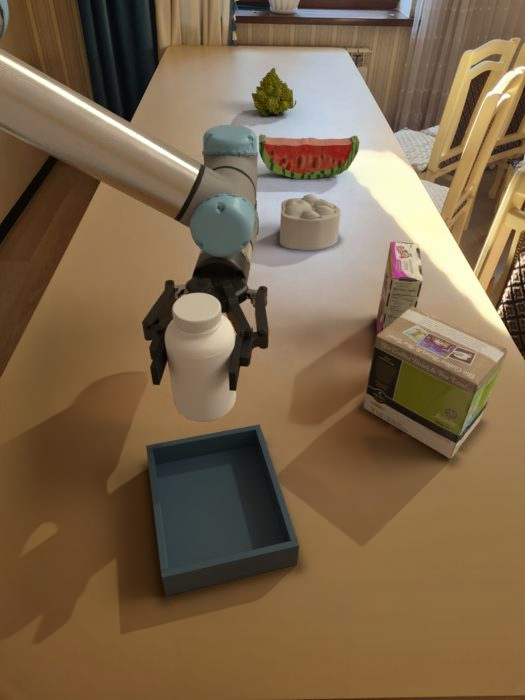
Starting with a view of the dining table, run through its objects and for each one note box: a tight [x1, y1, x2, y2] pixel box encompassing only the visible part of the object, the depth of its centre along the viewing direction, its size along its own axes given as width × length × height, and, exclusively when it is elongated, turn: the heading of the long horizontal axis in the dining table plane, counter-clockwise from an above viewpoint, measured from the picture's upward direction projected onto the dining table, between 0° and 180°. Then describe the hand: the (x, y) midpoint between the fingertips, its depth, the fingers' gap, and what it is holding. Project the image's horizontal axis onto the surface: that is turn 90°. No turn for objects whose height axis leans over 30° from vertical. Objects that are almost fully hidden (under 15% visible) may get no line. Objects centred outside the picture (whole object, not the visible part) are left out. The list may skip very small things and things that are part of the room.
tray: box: [145, 423, 300, 597], centre depth 68 cm, size 19×16×4 cm
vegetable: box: [251, 67, 297, 117], centre depth 184 cm, size 15×16×15 cm
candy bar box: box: [376, 241, 424, 336], centre depth 91 cm, size 11×5×16 cm, turn 171°
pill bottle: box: [165, 293, 237, 423], centre depth 64 cm, size 8×8×15 cm
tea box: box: [363, 306, 509, 460], centre depth 78 cm, size 15×10×15 cm, turn 48°
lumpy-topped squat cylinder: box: [279, 193, 342, 251], centre depth 119 cm, size 10×13×9 cm
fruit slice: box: [258, 133, 360, 180], centre depth 145 cm, size 26×6×10 cm, turn 91°
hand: (193, 379), depth 59 cm, fingers closed on pill bottle, 8 cm apart
